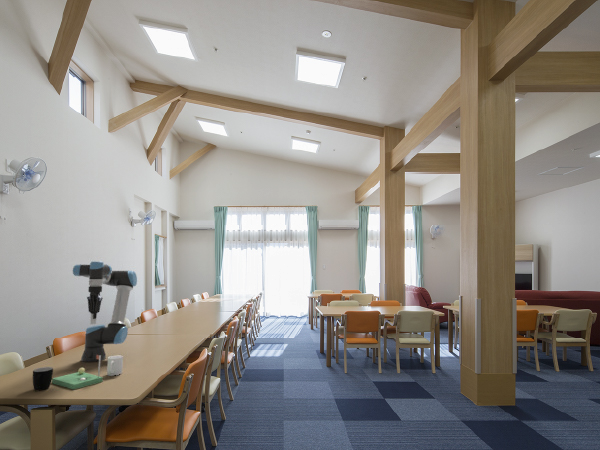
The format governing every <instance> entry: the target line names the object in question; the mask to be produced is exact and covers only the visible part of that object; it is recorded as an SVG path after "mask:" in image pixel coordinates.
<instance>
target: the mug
mask: <svg viewBox="0 0 600 450" xmlns="http://www.w3.org/2000/svg"><path fill="white" fill-rule="evenodd" d="M53 372H54V368H53V367H51V366H45V367H38V368H35V369H33V370H32V388H33V390H35V391H38V392H39V391H46V390H48V389H49V388H50V387H51V384H52V378H53V374H54V373H53Z"/></svg>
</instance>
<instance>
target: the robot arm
mask: <svg viewBox="0 0 600 450" xmlns="http://www.w3.org/2000/svg"><path fill="white" fill-rule="evenodd" d="M72 274H73V276H74V277H84V278H88V293H89V296H86V299H87V305H88V306H87V307H88V313H90V325H92V326H88V327H87V328H86V329H85V334H84V335H85V336H84V337H85V338H84V350H83V352H82V355H81V358H80V361H81V362H83V363H92V362H93V363H94V362H99V359H96V358H97V355H98V356H101V357H100V361H103V360H106V357H107V356H106V352H105V349H104V346H105V345H119V344H123V343H124V342H125V341H126V339H127V337H128V334H129V333H128V332H129V331H128V330H129V329H128V327H127V325H126V323H125V320H126V314H127V309H128V304H129V298H130V293H131V291H132V290H133V288H134V287H136V286H137V283H138V277H137V274H136V272H135V271H133V270H113V269H112V267H111V265H110V264H104V261H91V262H90V264H75V265H74V266H73V268H72ZM103 285H106V286H111V287H115V288H116V290H117V291H116V297H115V300H114V301H115V302H114V307H113V310H112V316H111V320H110V322H109V323H107V326H106V324H98V325H96V324H97V315H98V313H99V312H100V310H101V307H102V306H101V305H102V302H103V296H102V297H101V293H102V291H103Z"/></svg>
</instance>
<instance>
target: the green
mask: <svg viewBox="0 0 600 450" xmlns="http://www.w3.org/2000/svg"><path fill="white" fill-rule="evenodd" d="M100 357H101V356H98V355H97V358H96V359H99V361H98V371H97V373H98V374H97V375H96V374H91V373H88V372H84V373H83V374H79V373H78V371H77V372H74V373H68V374H66V375H61V376H57V377H52V380H51V384H54V385H57V386H61V387H64V388H68V389H69V390H70V389H71V390H73V391H74V390H77V389H81V388H84V387H87V386H92V385H95V384H99V383H103V380H104V379H103V378H104V377H103V376H100V373H101V360H100ZM81 378H85V379H86V380H80V379H81Z"/></svg>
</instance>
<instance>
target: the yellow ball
mask: <svg viewBox="0 0 600 450" xmlns="http://www.w3.org/2000/svg"><path fill="white" fill-rule="evenodd" d="M85 371H86V368H84V367H79V369H78V370H77V372H78V373H79V374H83V373H86V372H85Z"/></svg>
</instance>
